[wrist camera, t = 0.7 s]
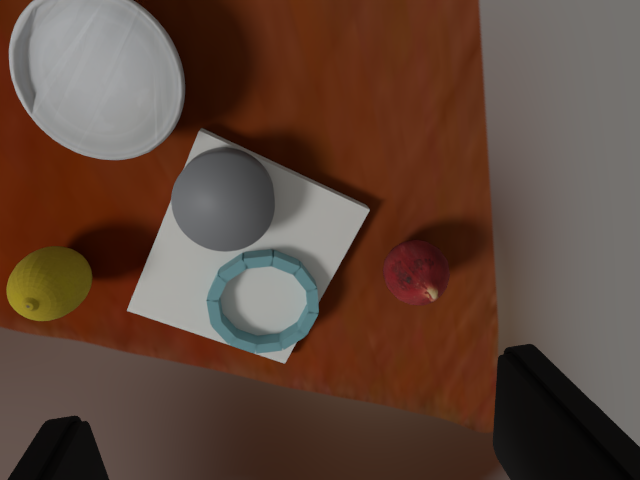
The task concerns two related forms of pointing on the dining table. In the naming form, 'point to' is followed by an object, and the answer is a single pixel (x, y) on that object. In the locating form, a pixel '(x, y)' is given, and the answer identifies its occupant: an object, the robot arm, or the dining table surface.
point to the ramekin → (97, 75)
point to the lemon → (49, 283)
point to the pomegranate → (416, 272)
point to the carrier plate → (245, 250)
